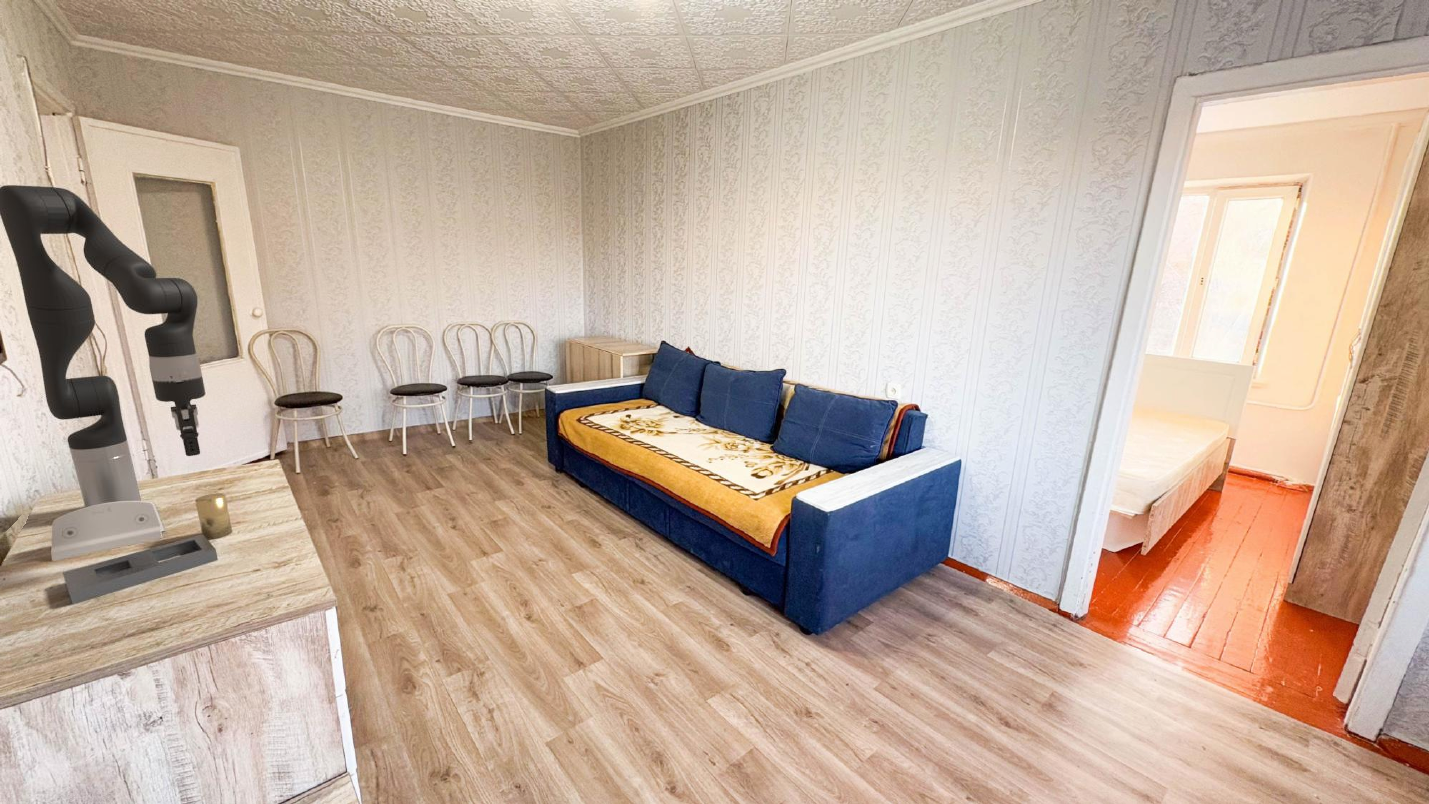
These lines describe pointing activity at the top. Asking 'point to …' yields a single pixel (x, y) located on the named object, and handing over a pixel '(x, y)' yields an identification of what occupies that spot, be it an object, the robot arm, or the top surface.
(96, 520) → the grey curved housing
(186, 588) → the top surface
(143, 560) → the grey flat block
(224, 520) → the cylinder
